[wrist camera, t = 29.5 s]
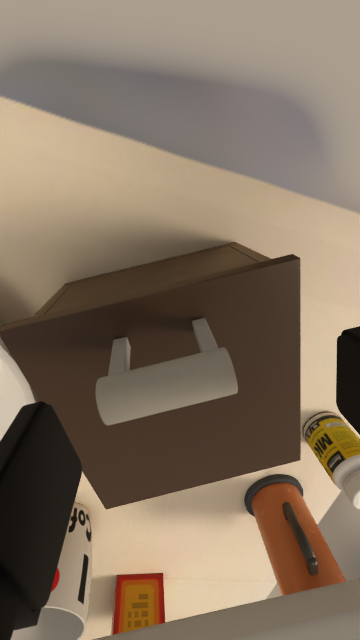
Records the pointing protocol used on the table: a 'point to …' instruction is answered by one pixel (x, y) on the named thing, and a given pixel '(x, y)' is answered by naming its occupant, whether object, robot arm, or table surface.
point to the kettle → (293, 540)
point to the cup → (67, 586)
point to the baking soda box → (138, 602)
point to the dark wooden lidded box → (151, 276)
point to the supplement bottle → (336, 452)
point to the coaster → (265, 482)
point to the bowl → (12, 390)
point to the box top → (173, 379)
